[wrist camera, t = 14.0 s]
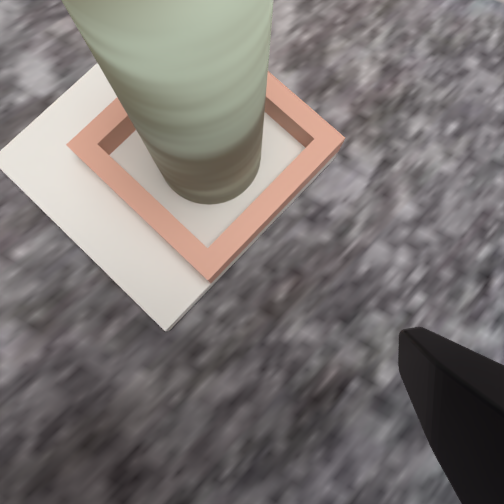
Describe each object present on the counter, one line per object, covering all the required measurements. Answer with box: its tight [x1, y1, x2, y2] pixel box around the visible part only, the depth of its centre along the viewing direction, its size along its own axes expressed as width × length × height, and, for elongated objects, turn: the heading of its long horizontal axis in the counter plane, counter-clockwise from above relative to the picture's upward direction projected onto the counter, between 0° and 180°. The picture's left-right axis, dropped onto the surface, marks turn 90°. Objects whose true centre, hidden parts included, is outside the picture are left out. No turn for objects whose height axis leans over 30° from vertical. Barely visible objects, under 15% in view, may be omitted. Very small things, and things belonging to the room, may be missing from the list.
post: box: [62, 0, 273, 205], centre depth 15 cm, size 5×5×12 cm
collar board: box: [0, 63, 345, 331], centre depth 21 cm, size 12×12×2 cm
